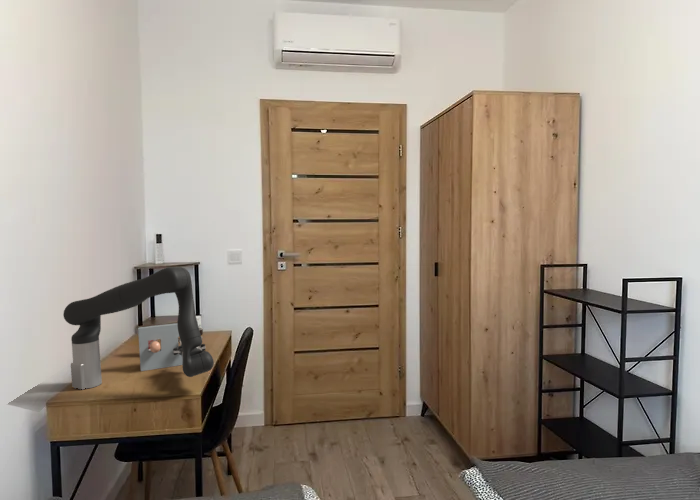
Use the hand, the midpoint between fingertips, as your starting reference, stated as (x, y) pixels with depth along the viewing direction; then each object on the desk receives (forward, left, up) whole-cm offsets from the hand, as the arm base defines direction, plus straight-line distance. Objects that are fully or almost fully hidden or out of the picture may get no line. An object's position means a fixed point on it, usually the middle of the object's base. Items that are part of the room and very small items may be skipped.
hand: (187, 345), depth 199 cm
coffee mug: (+27, +23, -11) cm, 37 cm away
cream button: (+4, +6, -2) cm, 7 cm away
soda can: (+10, +36, -11) cm, 39 cm away
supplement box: (+40, +39, -11) cm, 57 cm away
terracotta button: (-5, +13, -2) cm, 14 cm away
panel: (+3, +14, -10) cm, 18 cm away
